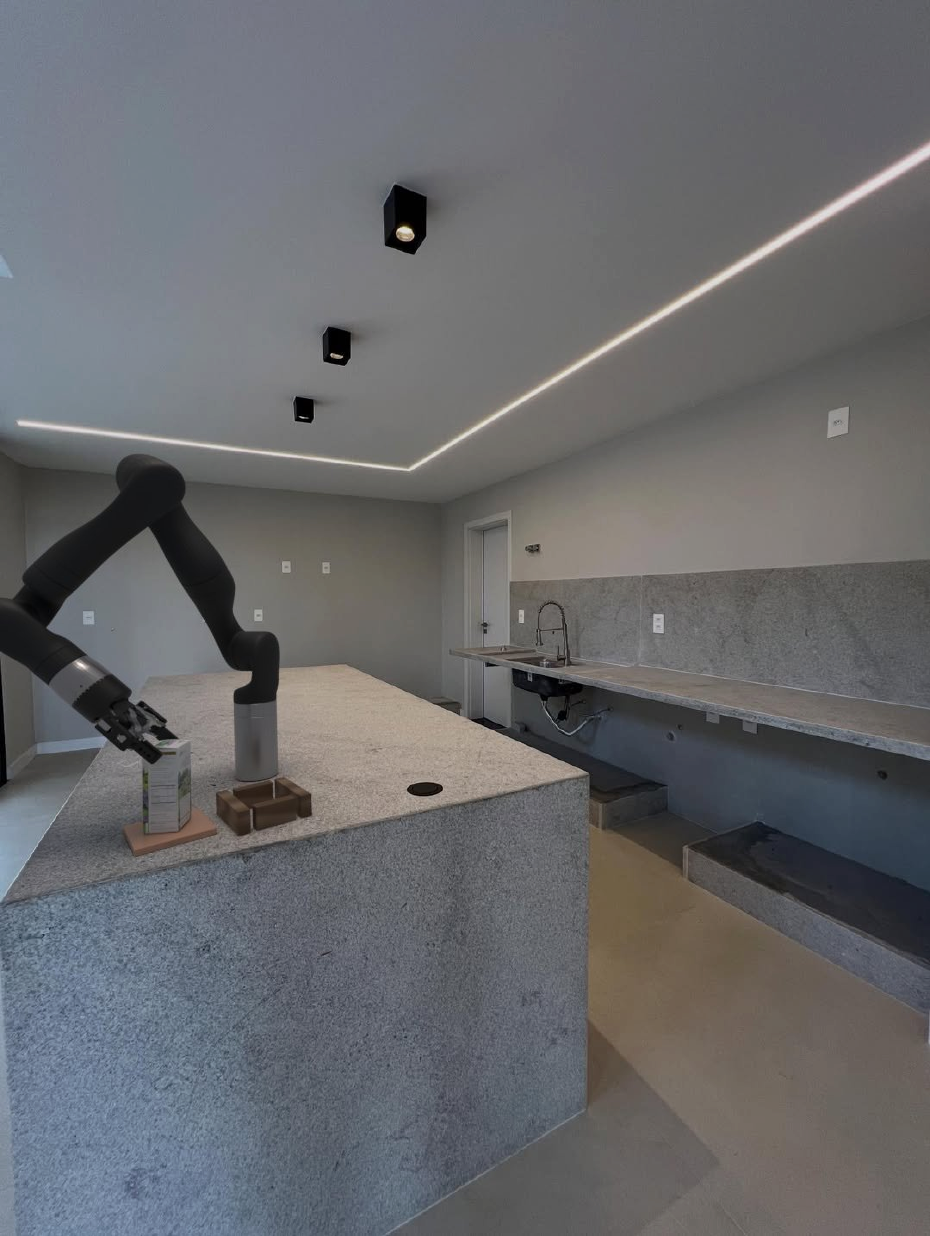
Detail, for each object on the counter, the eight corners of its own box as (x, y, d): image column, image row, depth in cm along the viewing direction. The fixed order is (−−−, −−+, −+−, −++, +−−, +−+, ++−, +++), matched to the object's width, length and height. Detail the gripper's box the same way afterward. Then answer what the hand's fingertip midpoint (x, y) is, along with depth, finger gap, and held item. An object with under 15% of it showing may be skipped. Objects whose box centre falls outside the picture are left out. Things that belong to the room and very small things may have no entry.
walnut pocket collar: (216, 813, 98) (216, 792, 97) (284, 796, 106) (284, 776, 106) (238, 836, 88) (238, 812, 88) (311, 814, 96) (311, 793, 96)
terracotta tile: (123, 831, 90) (122, 826, 90) (198, 813, 98) (198, 807, 98) (134, 856, 81) (134, 850, 81) (217, 833, 89) (216, 827, 89)
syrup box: (157, 821, 92) (155, 739, 92) (193, 818, 93) (191, 738, 92) (142, 835, 86) (139, 748, 86) (180, 832, 87) (178, 746, 87)
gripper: (86, 678, 80) (169, 747, 82) (127, 667, 94) (197, 727, 96) (48, 714, 79) (133, 783, 81) (95, 698, 93) (167, 757, 95)
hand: (168, 752), depth 89 cm, fingers open, 8 cm apart
